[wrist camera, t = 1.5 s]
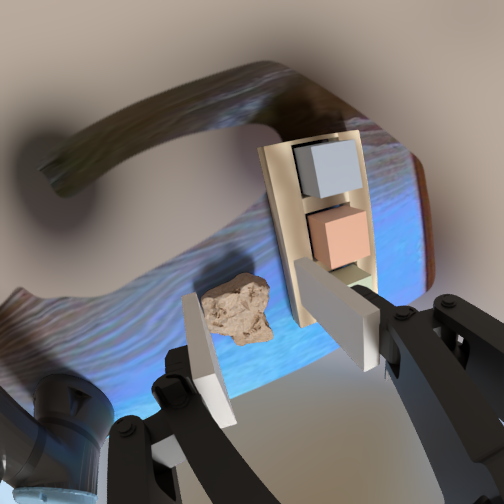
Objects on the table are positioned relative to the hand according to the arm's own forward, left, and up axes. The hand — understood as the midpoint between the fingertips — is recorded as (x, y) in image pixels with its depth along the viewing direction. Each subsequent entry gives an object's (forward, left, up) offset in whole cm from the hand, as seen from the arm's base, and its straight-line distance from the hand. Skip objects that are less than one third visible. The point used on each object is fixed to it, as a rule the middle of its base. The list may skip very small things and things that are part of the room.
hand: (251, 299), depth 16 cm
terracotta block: (+16, -6, -22) cm, 28 cm away
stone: (+2, -13, -25) cm, 29 cm away
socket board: (+16, -6, -25) cm, 30 cm away
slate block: (+16, +3, -22) cm, 28 cm away
